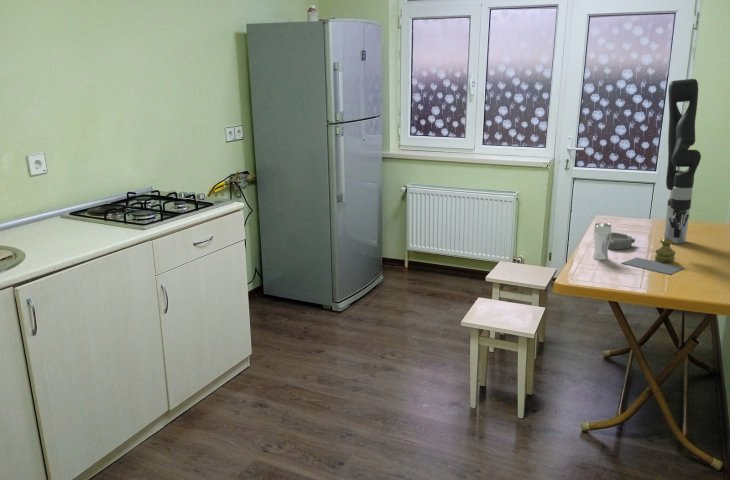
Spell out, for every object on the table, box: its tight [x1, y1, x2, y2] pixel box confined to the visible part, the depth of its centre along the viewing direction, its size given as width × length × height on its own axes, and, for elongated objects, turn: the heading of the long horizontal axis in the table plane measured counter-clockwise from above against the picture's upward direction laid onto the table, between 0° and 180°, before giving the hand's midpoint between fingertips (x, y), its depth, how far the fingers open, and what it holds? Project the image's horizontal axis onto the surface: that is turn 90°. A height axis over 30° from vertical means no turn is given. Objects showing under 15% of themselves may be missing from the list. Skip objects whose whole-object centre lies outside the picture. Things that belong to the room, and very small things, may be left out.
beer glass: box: [592, 222, 612, 261], centre depth 252 cm, size 7×7×15 cm
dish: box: [608, 231, 636, 250], centre depth 271 cm, size 14×14×5 cm
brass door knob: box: [654, 238, 676, 265], centre depth 246 cm, size 7×7×10 cm
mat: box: [621, 256, 685, 275], centre depth 242 cm, size 12×20×1 cm, turn 37°
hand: (676, 237), depth 250 cm, fingers closed
